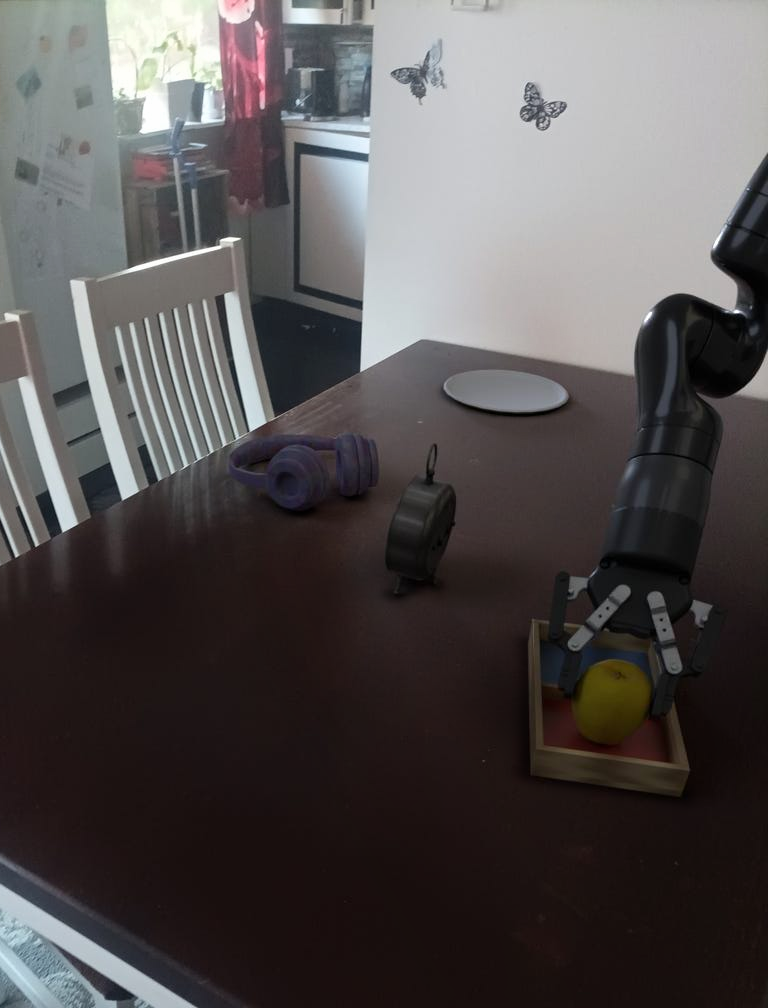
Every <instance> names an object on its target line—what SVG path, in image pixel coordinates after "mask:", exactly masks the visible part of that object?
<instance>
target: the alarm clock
mask: <svg viewBox="0 0 768 1008" xmlns="http://www.w3.org/2000/svg"><path fill="white" fill-rule="evenodd" d="M433 450H434V455H433V456H434V457H433V462H432V466H431V467H430V461H431V457H432V453H433ZM437 459H438V445H437V443H436V442H433V443H432V444H431V445H430V447H429V450H428V453H427V458H426V463H425V464H426V465H425V467H426V468H425V475H426V476H422V475H420V474H416V475H413V476H412V478H410V479H409V481H408V482H407V483H406V484H405V486H404V488H403V490H402V492H401V494H400V496H399V498H398V500H397V502H396V505H395V507H394V510H393V514H392V517H391V521H390V524H389V528H388V532H387V537H386V542H385V551H384V564H385V568H386V570H387V572H389V573H392V574H394V575H395V574H396V575H397V580H396V584H395V589H394V590H393V593H392V595H393V596H394V597H398V596H399V595H400V589H401V588H402V586H403V583H404V581H405V579H406V578H408V579H412V580H416V581H425V580H426V579H428V578H431V580H432V583H433V584H434V585H435V586H438V582H437V578H436V572H437V569H438V566H439V565H440V563H441V561H442V559H443V556H444V554H445V552H446V550H447V546H448V543H449V541H450V538H451V534H452V530H453V527H455V526H456V521H455V517H456V511H457V495H456V490H455V489H454V487H453V486H452V484H451V483H449V482H445V481H442V480H438V479H434V475H436V470H435V467H436V463H437Z"/></svg>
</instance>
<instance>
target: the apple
mask: <svg viewBox="0 0 768 1008" xmlns="http://www.w3.org/2000/svg"><path fill="white" fill-rule="evenodd" d="M652 700H653V692H652V686H651V684H650V681H649V679H648V677H647V676H646V674H645V673H644V672H643V671H642V670H641V669H640V668H639V667H638V666H637V665H635V664H633V663H630V662H627V661H624V660H618V659H610V660H605V661H601V662H599V663H597V664H595V665H593V666H592V667H590V668H589V669H587V670H586V671H584V672H583V673H582V674H581V676H580V678H579V679H578V680H577V682H576V684H575V688H574V692H573V696H572V710H573V715H574V719H575V722H576V725H577V727H578V729H579V731H580V732H581V734H582V736H583V737H585V738H586V739H588V740H590V741H593V742H595V743H601V744H606V745H615V744H618V743H620V742H621V741H623V740H624V739H626V738H627V737H629V736H631V735H632V734H633V733H635V732H636V731H637V730H638V729H639V728H640V727H641V726H642V725H643V724H644V722H645V721H646V719H647V717H648V715H649V712H650V709H651V706H652Z"/></svg>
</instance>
